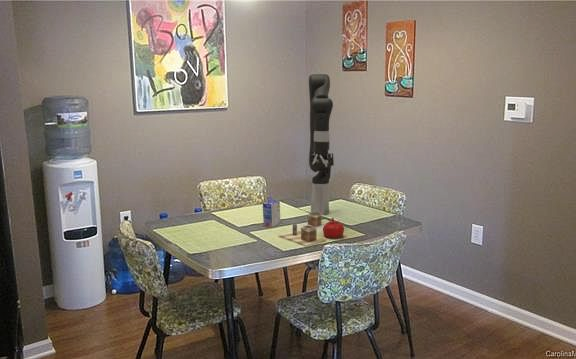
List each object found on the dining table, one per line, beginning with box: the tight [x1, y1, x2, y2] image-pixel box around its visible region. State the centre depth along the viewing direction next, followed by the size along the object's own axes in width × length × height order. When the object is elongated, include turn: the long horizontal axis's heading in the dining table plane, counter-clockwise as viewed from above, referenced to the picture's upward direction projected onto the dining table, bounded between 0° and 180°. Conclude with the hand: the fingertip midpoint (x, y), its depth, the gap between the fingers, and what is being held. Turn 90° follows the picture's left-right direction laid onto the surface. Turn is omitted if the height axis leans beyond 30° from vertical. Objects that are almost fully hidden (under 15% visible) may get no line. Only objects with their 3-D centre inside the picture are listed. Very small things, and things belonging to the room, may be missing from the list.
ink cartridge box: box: [262, 196, 281, 228], centre depth 274 cm, size 10×6×14 cm, turn 155°
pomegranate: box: [322, 217, 345, 239], centre depth 253 cm, size 10×10×9 cm
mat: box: [297, 222, 325, 234], centre depth 268 cm, size 16×14×1 cm
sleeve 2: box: [300, 225, 318, 242], centre depth 246 cm, size 5×5×6 cm
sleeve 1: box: [307, 211, 323, 227], centre depth 272 cm, size 5×5×6 cm
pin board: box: [277, 223, 327, 248], centre depth 250 cm, size 20×12×6 cm, turn 40°
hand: (321, 173), depth 262 cm, fingers open, 8 cm apart
